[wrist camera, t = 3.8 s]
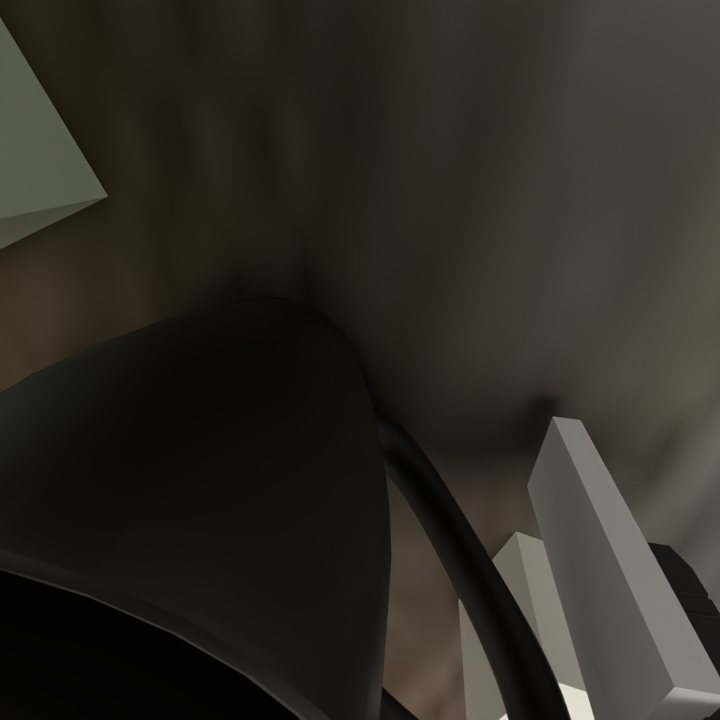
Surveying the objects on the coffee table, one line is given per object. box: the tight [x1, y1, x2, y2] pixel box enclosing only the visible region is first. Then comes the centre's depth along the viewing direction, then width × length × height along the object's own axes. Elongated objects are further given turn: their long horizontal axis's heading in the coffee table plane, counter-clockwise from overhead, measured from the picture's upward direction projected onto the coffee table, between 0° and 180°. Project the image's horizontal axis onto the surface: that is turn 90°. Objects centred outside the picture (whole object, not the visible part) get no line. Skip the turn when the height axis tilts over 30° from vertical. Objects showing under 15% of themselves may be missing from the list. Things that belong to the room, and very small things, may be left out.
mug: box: [0, 297, 571, 720], centre depth 10 cm, size 8×12×10 cm
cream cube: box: [458, 531, 595, 720], centre depth 15 cm, size 5×5×5 cm
